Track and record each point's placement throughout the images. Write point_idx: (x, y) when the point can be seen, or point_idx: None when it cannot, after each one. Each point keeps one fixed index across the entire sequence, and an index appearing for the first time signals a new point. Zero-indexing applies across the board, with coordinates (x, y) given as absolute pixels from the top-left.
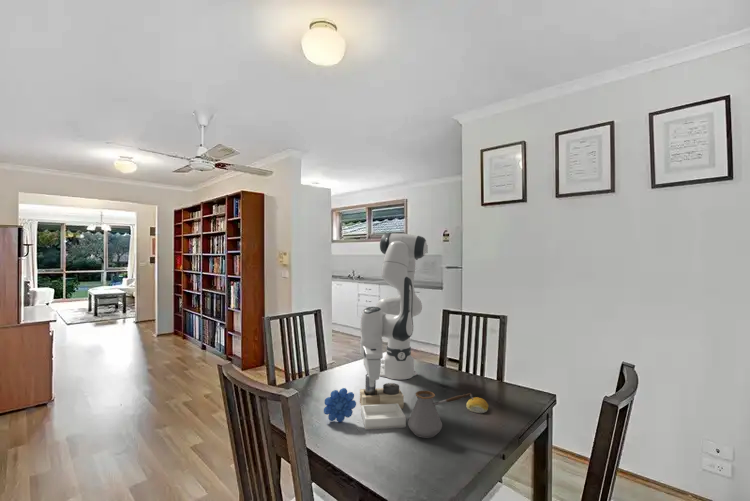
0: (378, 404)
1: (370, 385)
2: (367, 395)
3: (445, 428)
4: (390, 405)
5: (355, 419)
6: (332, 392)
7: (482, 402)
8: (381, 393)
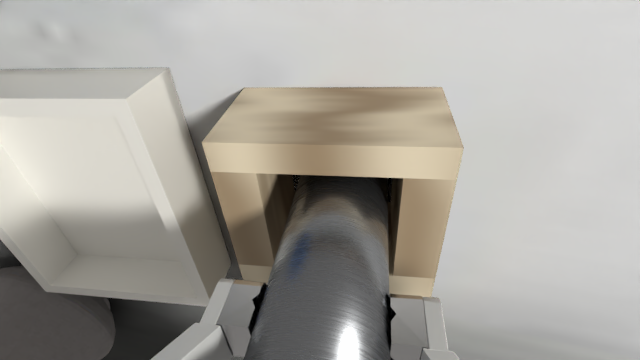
0: (176, 220)
1: (219, 292)
2: (301, 187)
3: (122, 341)
4: (188, 271)
5: (77, 13)
6: None
7: None
8: None
